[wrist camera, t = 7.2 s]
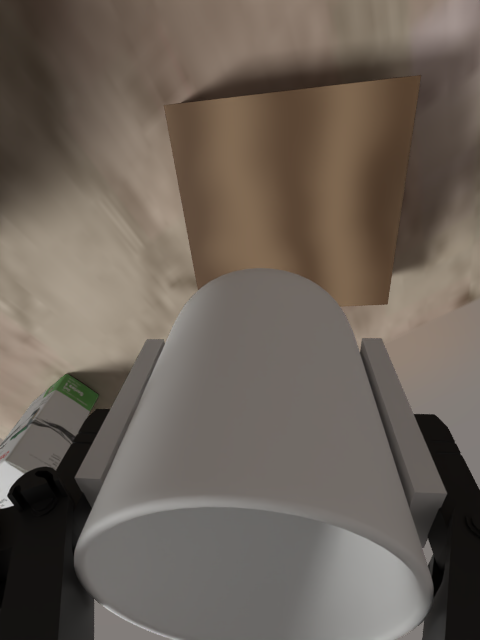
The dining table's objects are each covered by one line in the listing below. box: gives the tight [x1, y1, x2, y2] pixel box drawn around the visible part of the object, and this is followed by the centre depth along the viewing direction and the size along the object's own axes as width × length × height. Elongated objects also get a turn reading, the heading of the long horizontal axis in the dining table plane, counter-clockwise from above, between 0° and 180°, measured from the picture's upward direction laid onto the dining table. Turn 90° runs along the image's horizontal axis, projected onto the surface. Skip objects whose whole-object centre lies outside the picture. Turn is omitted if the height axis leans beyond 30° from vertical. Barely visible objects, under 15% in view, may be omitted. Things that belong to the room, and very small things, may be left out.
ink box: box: [0, 374, 99, 509], centre depth 39 cm, size 9×5×12 cm, turn 132°
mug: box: [74, 268, 434, 640], centre depth 13 cm, size 12×8×10 cm
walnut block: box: [164, 75, 421, 306], centre depth 27 cm, size 15×15×5 cm
